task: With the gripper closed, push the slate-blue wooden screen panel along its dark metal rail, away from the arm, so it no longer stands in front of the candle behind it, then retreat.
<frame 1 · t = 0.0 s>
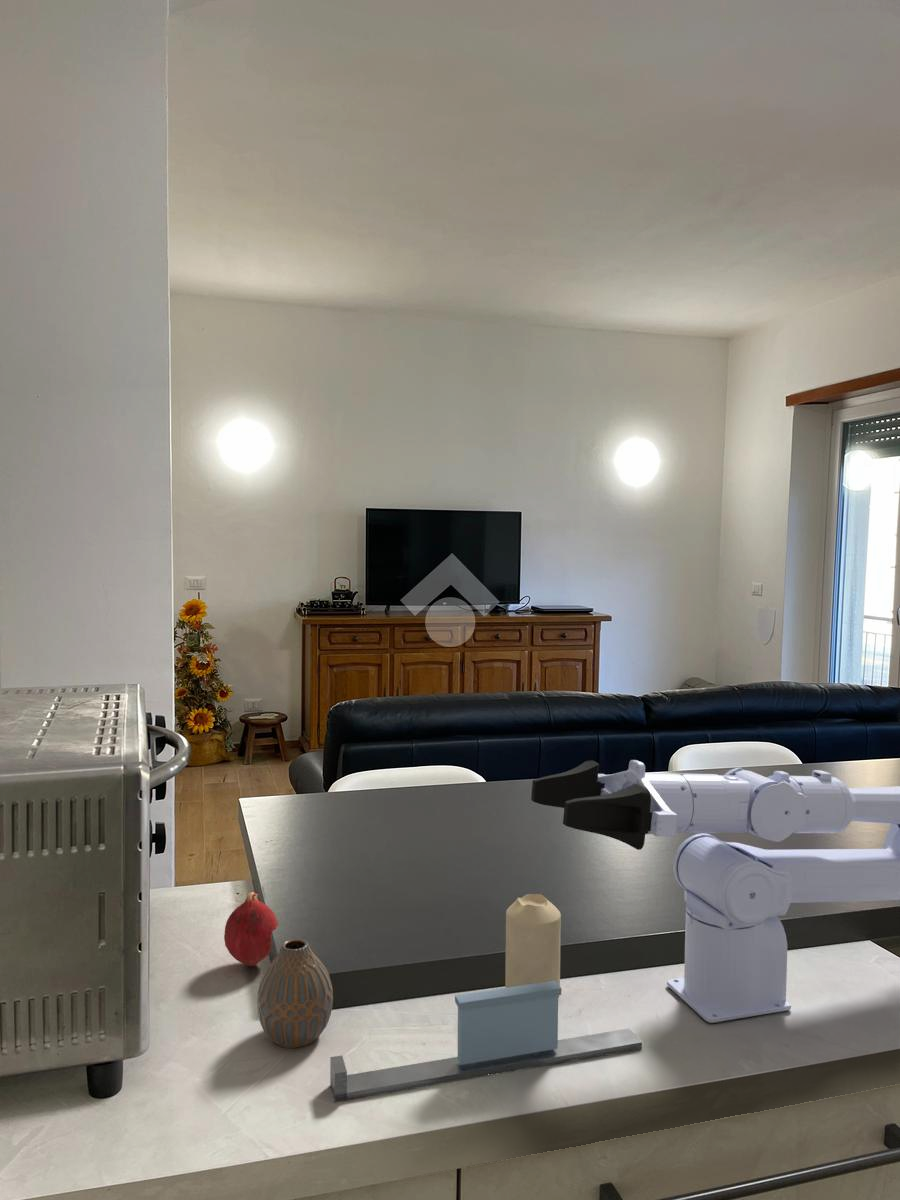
hand: (548, 801, 82), 22 cm above the counter, tool horizontal, fingers open, 7 cm apart
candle: (532, 996, 89), on the counter
panel: (508, 1022, 77), point 4 cm above the counter, slide at 0.0 cm
vase: (295, 1038, 81), on the counter
onion: (252, 967, 95), on the counter
rail: (491, 1066, 77), on the counter
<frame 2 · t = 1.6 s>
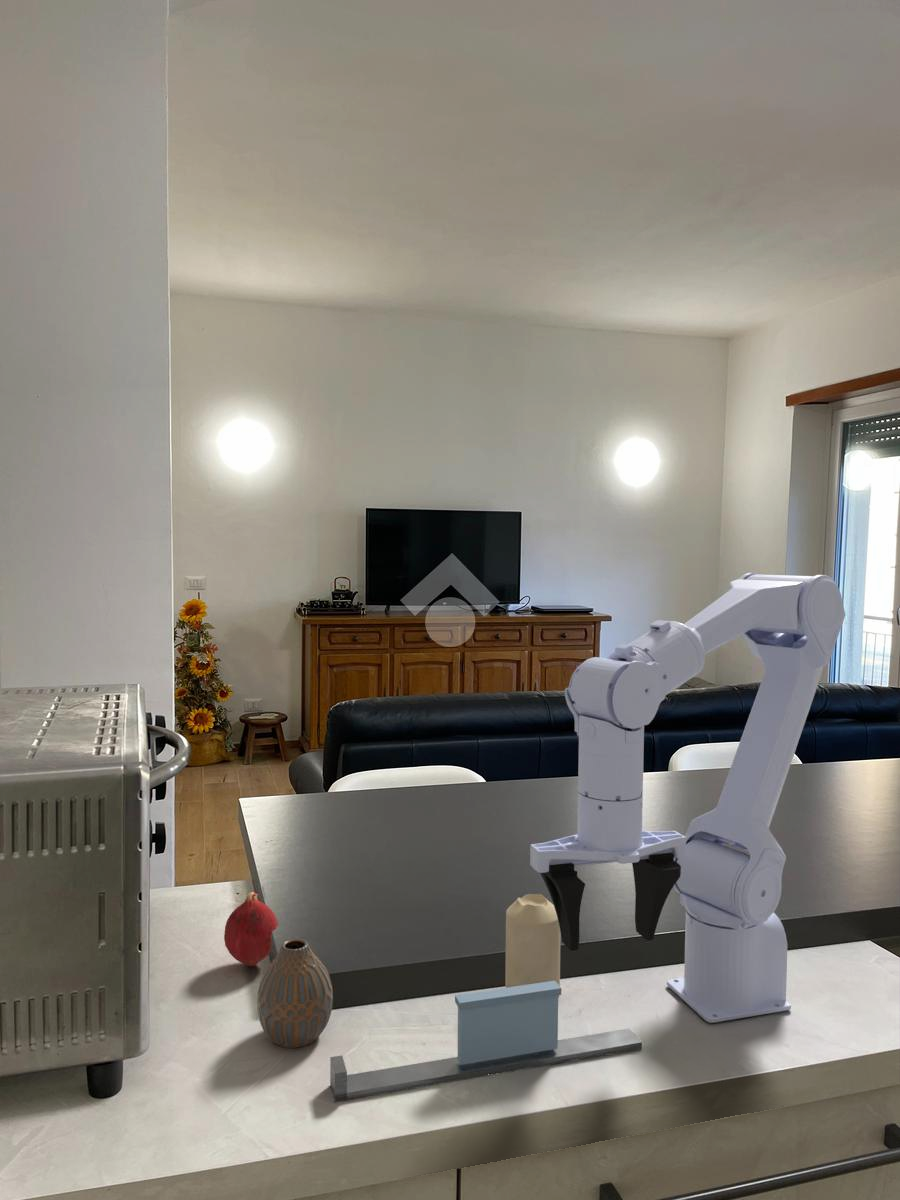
hand: (607, 940, 79), 10 cm above the counter, tool pointing down, fingers open, 7 cm apart
nothing on the counter moved.
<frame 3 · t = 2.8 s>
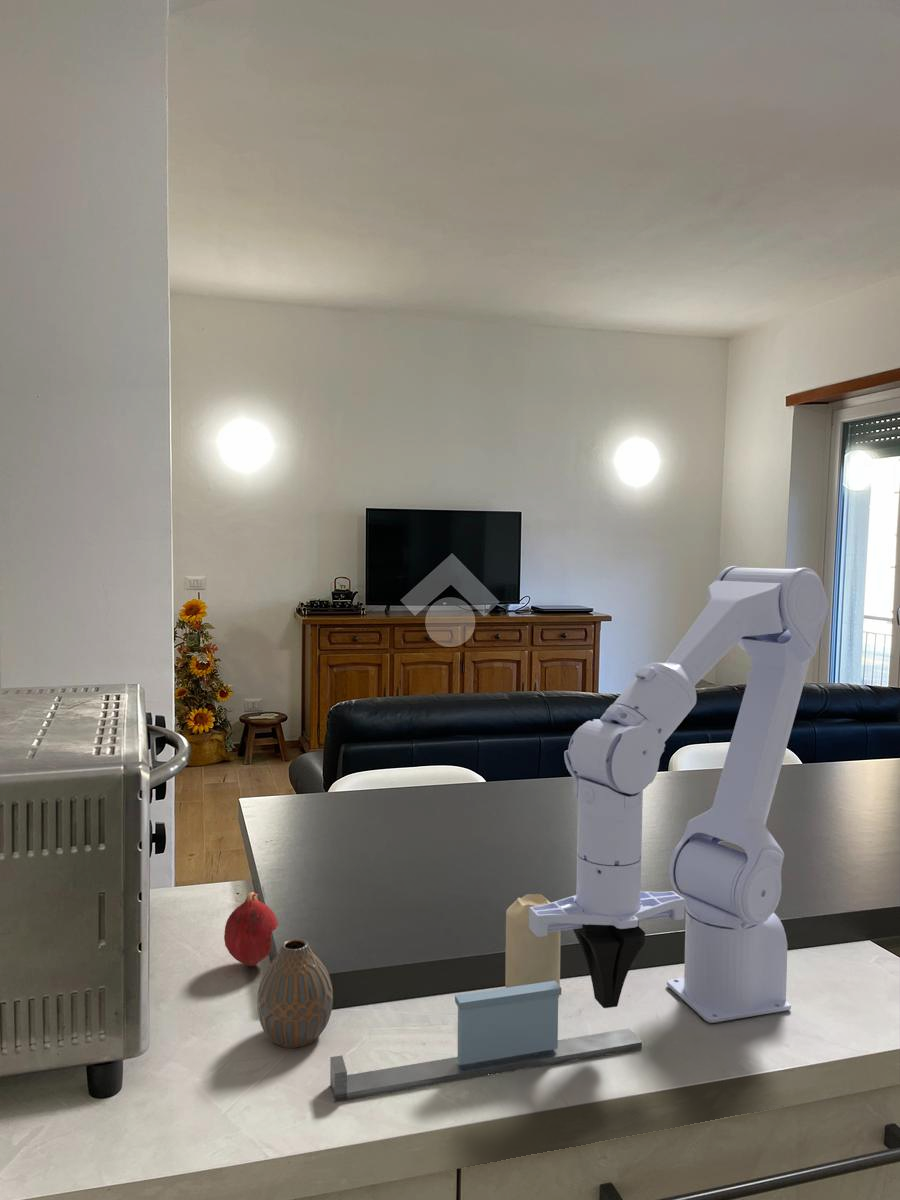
hand: (605, 1002, 79), 4 cm above the counter, tool pointing down, fingers closed
nothing on the counter moved.
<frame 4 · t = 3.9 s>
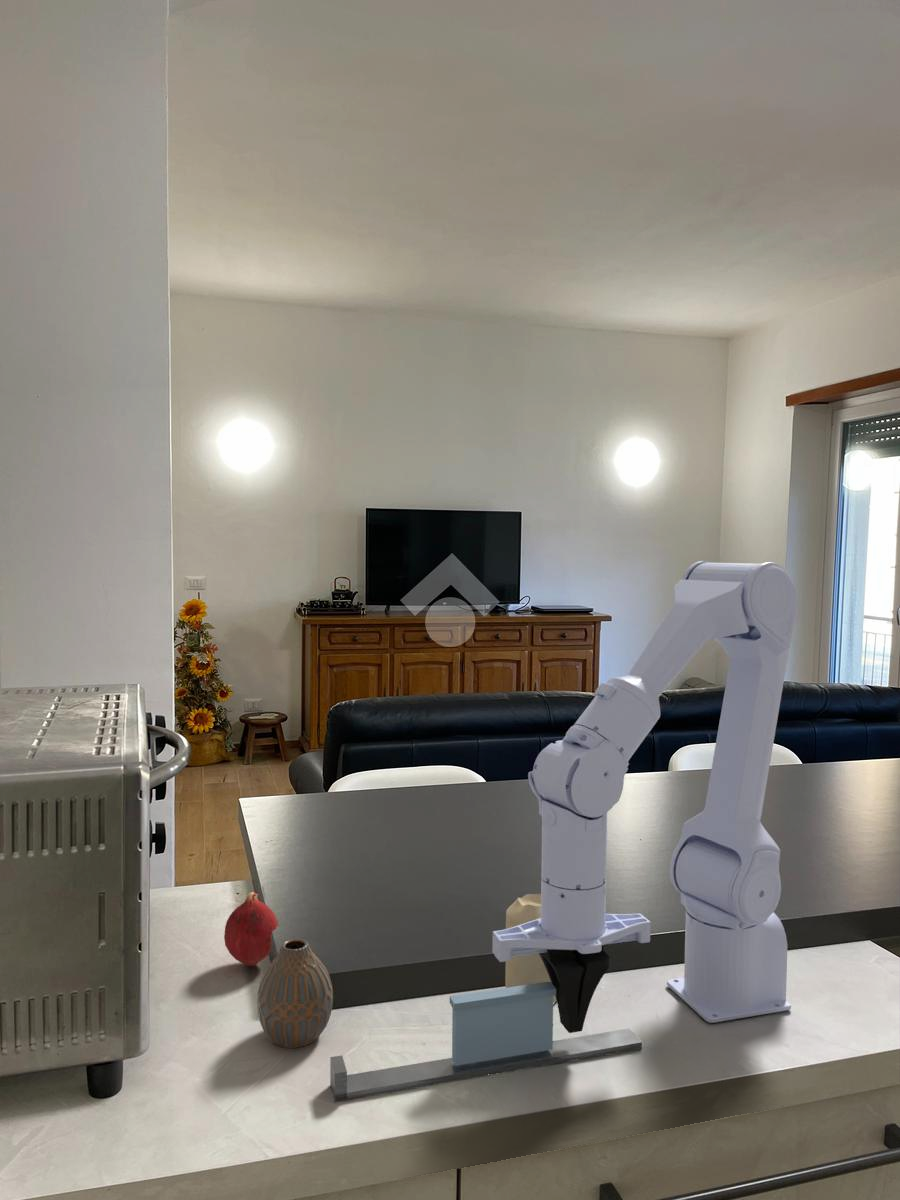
hand: (571, 1026, 78), 2 cm above the counter, tool pointing down, fingers closed
panel: (503, 1023, 77), point 4 cm above the counter, slide at 0.5 cm, touching gripper
everything else where it was.
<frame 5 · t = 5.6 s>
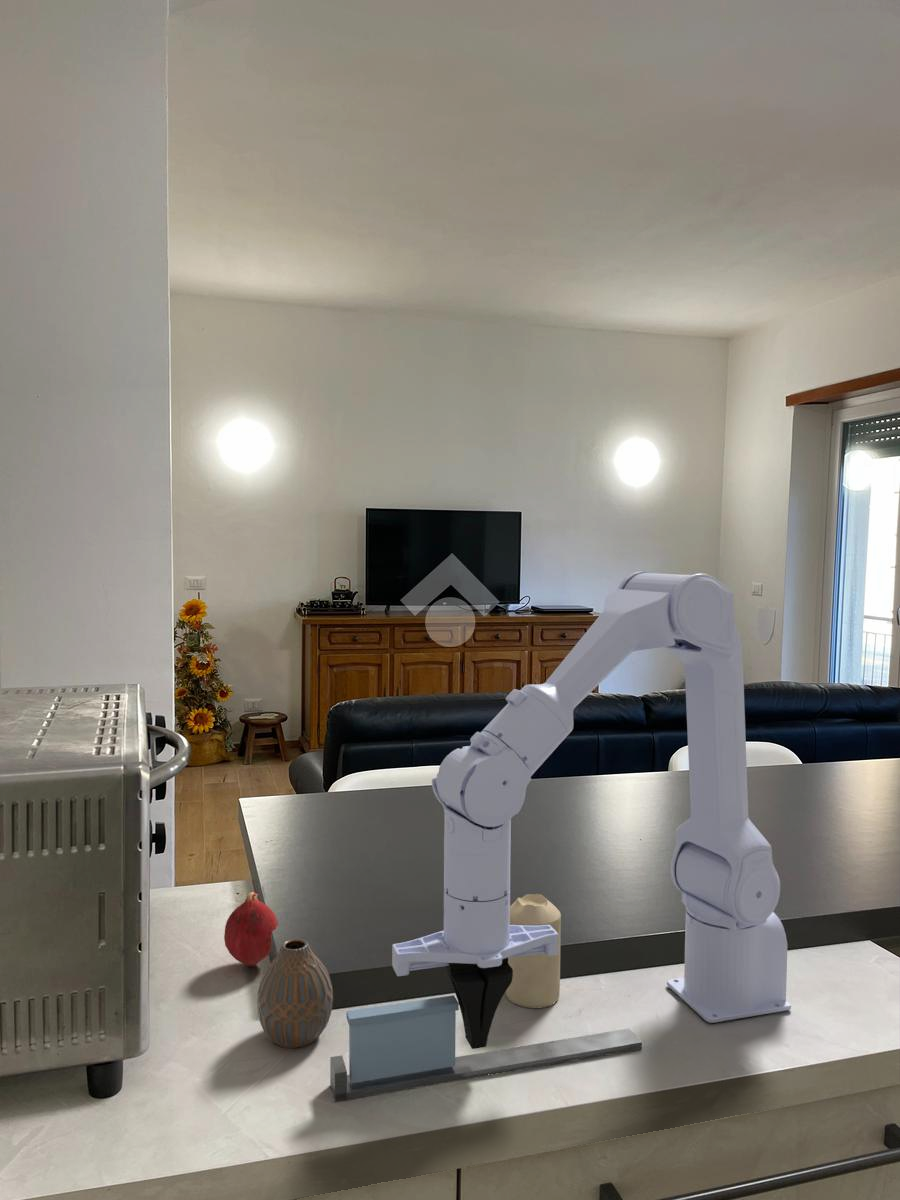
hand: (475, 1042, 76), 2 cm above the counter, tool pointing down, fingers closed
panel: (402, 1039, 74), point 4 cm above the counter, slide at 9.5 cm, touching gripper
everything else where it was.
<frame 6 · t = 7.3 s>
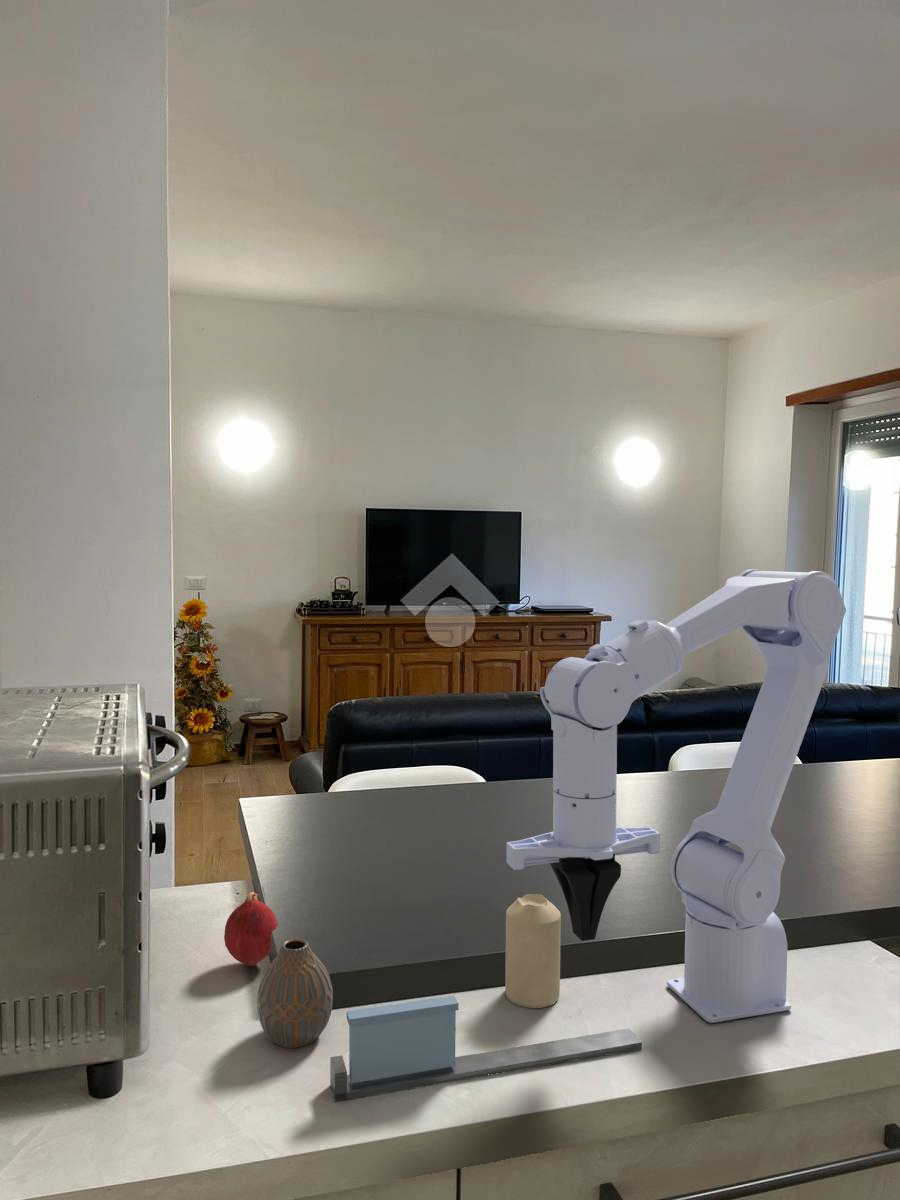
hand: (584, 935, 80), 10 cm above the counter, tool pointing down, fingers closed
panel: (402, 1039, 74), point 4 cm above the counter, slide at 9.5 cm
everything else where it was.
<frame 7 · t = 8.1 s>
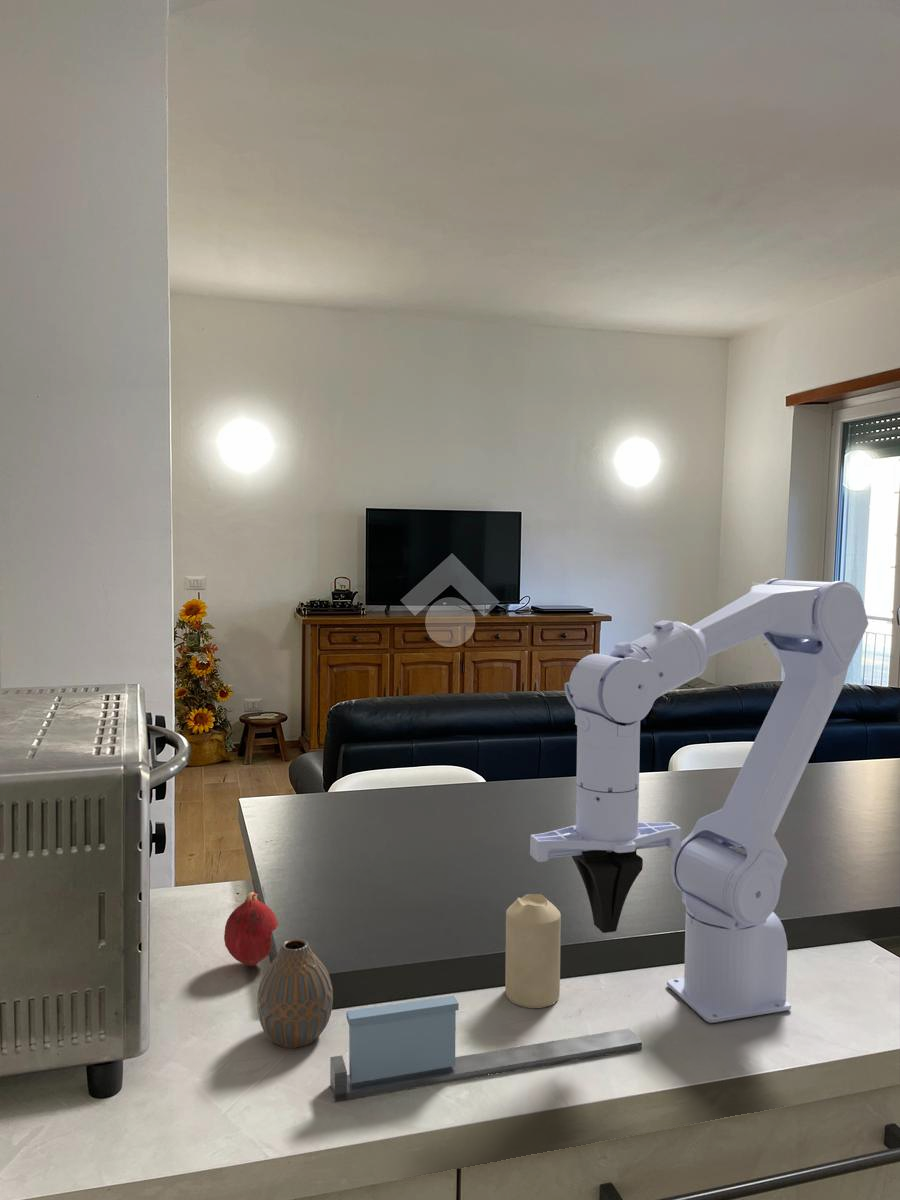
hand: (605, 927, 82), 10 cm above the counter, tool pointing down, fingers closed
nothing on the counter moved.
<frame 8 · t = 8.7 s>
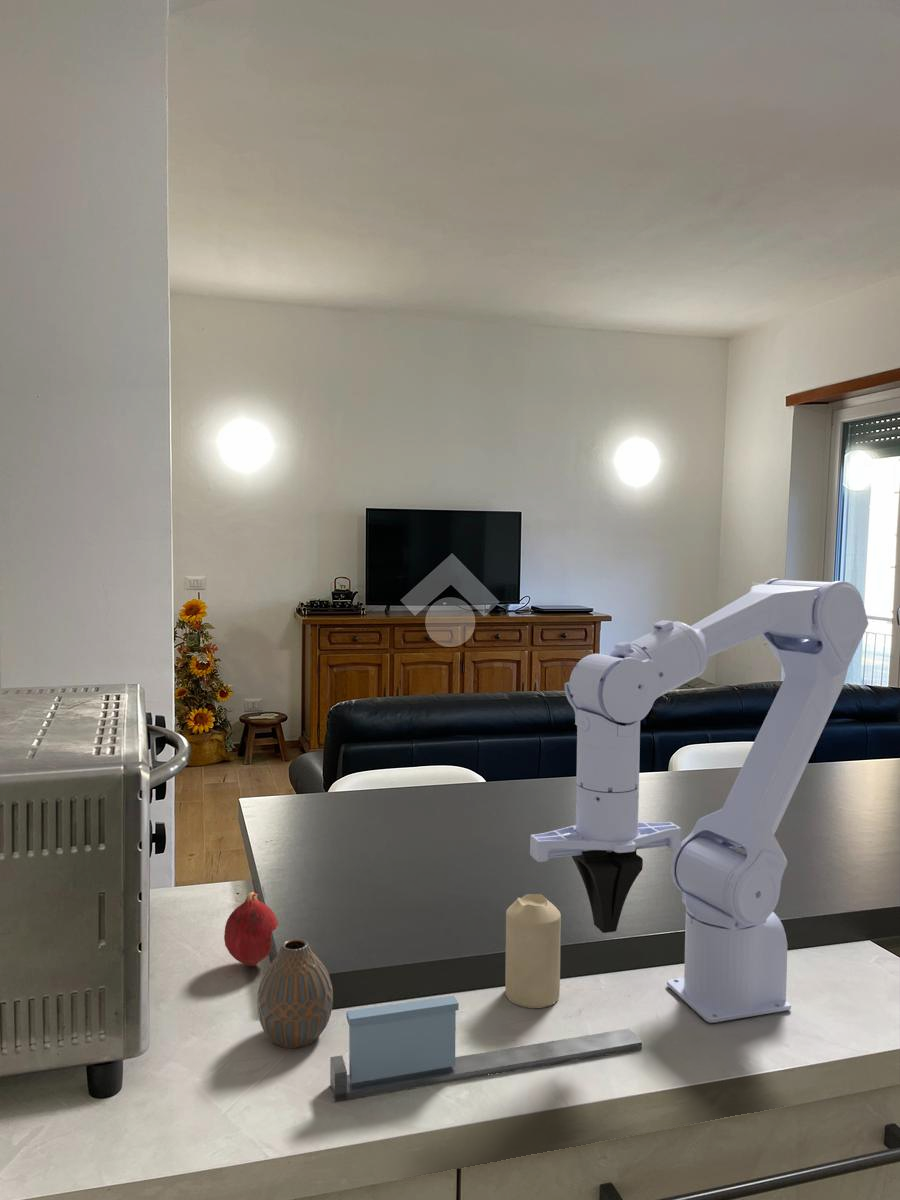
hand: (605, 927, 82), 10 cm above the counter, tool pointing down, fingers closed
nothing on the counter moved.
at the end: panel slide at 9.5 cm; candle moved 0.2 cm from its start; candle tilted 0° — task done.
